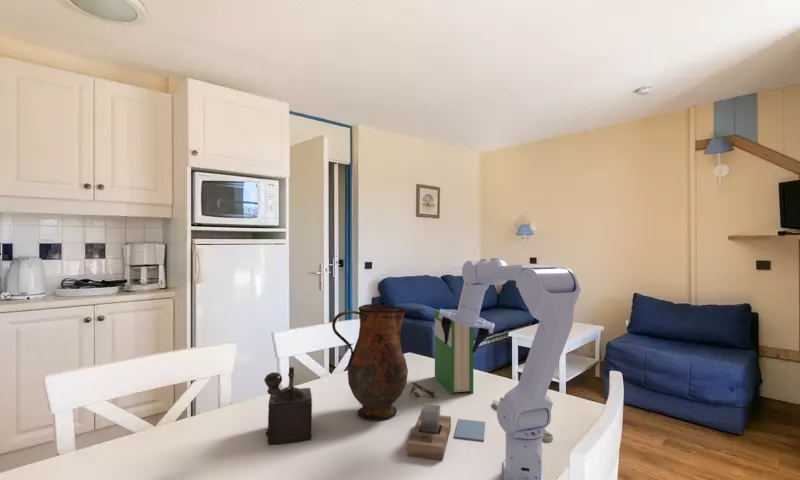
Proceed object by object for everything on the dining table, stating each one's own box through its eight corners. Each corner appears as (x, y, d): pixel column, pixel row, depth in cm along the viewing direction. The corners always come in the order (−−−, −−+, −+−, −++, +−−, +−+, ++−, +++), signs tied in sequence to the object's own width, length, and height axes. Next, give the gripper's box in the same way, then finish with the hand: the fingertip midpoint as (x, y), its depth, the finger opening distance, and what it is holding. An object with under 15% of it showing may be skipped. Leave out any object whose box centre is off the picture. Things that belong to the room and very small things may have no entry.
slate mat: (483, 441, 97) (483, 439, 97) (454, 437, 99) (454, 436, 99) (485, 423, 107) (485, 421, 107) (458, 420, 109) (458, 418, 109)
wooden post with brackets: (406, 392, 127) (412, 379, 127) (430, 403, 126) (435, 390, 126) (406, 394, 125) (412, 381, 125) (429, 405, 124) (435, 392, 124)
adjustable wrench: (555, 443, 98) (555, 436, 98) (531, 445, 96) (531, 438, 96) (508, 402, 122) (508, 396, 122) (488, 403, 121) (488, 398, 121)
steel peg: (437, 446, 95) (437, 412, 95) (420, 444, 96) (421, 410, 96) (440, 438, 99) (440, 405, 99) (423, 436, 100) (424, 404, 100)
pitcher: (415, 422, 107) (415, 310, 107) (334, 432, 102) (335, 313, 102) (399, 399, 123) (399, 301, 123) (328, 406, 118) (329, 303, 118)
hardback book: (473, 393, 128) (473, 318, 128) (451, 395, 126) (451, 319, 127) (454, 375, 145) (454, 309, 145) (434, 376, 144) (434, 309, 144)
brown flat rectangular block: (442, 460, 88) (442, 446, 88) (407, 455, 90) (407, 442, 90) (450, 428, 104) (451, 416, 104) (420, 424, 106) (420, 412, 106)
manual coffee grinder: (267, 426, 105) (267, 357, 105) (310, 421, 107) (311, 354, 108) (262, 457, 90) (263, 376, 90) (313, 451, 92) (313, 372, 92)
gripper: (499, 303, 106) (487, 345, 111) (445, 289, 109) (437, 330, 114) (497, 316, 100) (485, 360, 105) (441, 301, 103) (431, 344, 108)
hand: (460, 346), depth 109 cm, fingers open, 7 cm apart
